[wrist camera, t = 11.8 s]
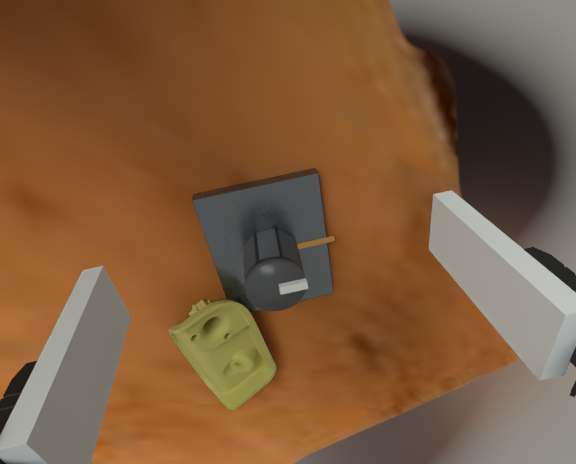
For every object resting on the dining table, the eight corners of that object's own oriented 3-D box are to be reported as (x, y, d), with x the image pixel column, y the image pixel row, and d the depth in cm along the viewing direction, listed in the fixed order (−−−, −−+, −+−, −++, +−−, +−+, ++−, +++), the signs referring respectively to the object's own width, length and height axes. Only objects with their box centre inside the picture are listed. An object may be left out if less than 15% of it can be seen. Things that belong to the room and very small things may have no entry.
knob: (250, 278, 46) (253, 320, 40) (237, 235, 43) (239, 274, 36) (300, 267, 46) (311, 307, 40) (292, 224, 43) (303, 260, 37)
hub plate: (193, 194, 41) (189, 221, 36) (323, 166, 41) (337, 188, 36) (232, 308, 50) (233, 342, 45) (337, 284, 51) (350, 314, 46)
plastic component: (279, 373, 56) (224, 418, 53) (255, 344, 61) (204, 382, 58) (239, 288, 44) (165, 338, 41) (213, 260, 49) (145, 303, 46)
